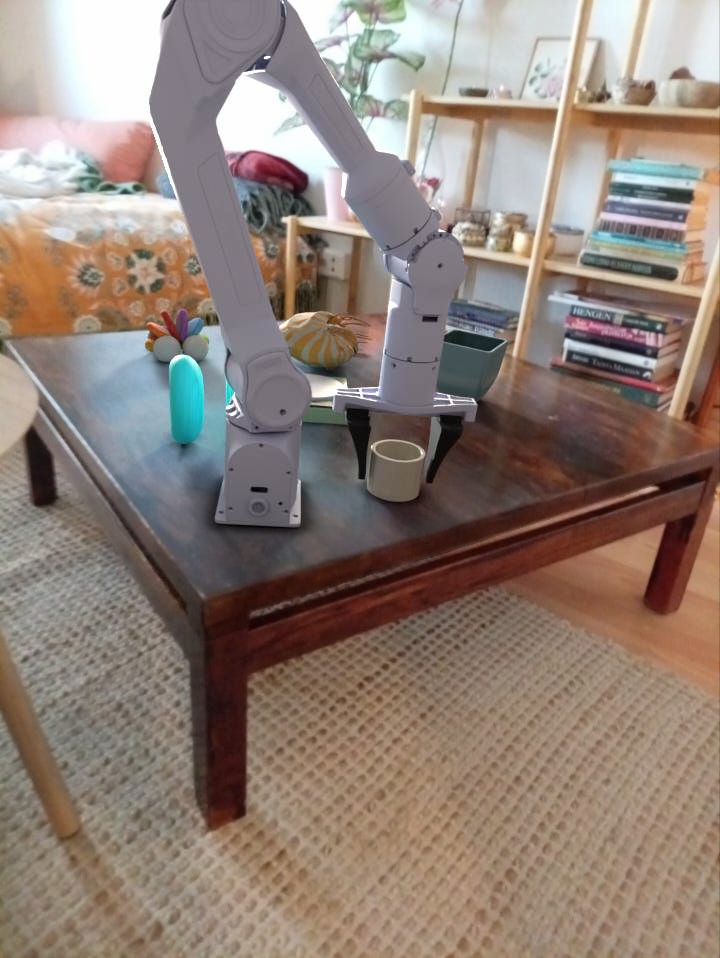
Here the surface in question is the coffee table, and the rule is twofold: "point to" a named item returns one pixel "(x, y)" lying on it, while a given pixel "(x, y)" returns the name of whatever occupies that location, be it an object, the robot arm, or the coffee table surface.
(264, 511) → the robot arm
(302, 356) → the nautilus
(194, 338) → the rainbow peacock toy
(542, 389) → the coffee table surface
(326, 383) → the scale
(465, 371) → the flower pot
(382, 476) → the white cup
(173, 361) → the teal upright capsule
